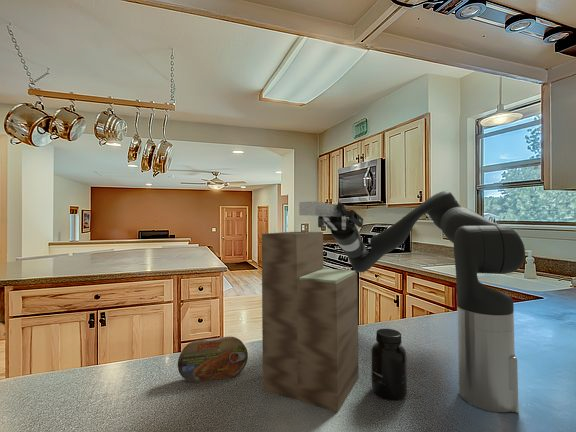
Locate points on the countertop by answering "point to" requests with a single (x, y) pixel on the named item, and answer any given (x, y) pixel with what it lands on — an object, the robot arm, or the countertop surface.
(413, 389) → the countertop surface
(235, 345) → the tin
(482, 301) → the robot arm
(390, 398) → the supplement bottle
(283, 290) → the walnut stand
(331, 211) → the steel bar
